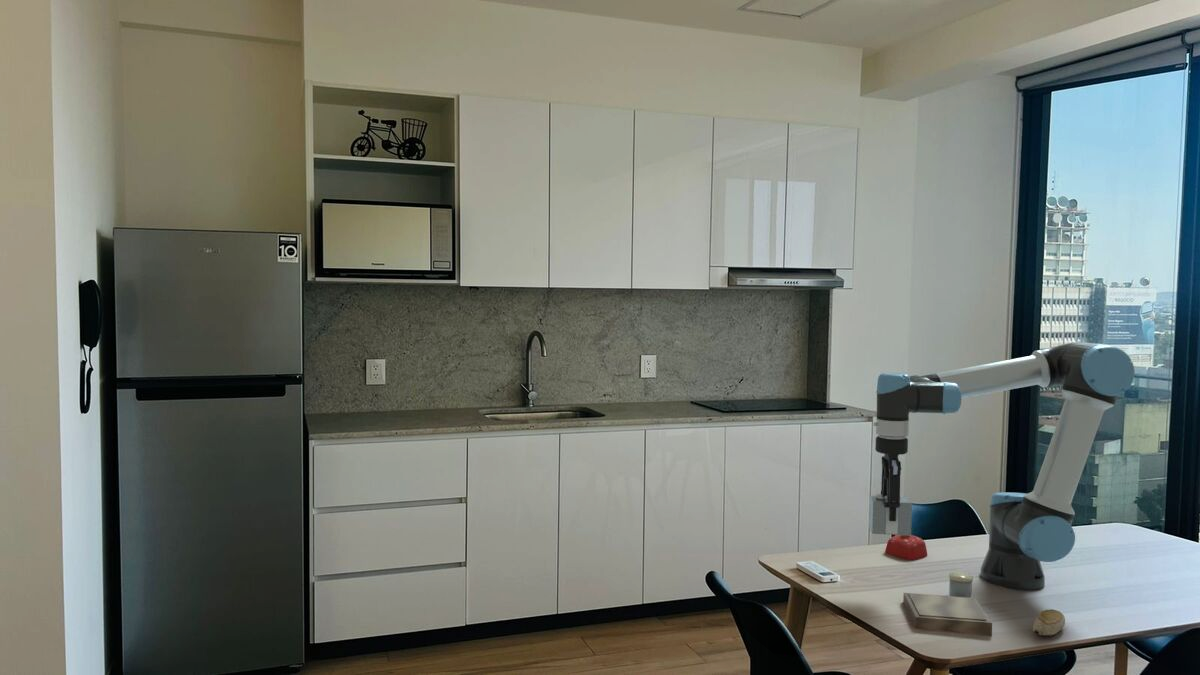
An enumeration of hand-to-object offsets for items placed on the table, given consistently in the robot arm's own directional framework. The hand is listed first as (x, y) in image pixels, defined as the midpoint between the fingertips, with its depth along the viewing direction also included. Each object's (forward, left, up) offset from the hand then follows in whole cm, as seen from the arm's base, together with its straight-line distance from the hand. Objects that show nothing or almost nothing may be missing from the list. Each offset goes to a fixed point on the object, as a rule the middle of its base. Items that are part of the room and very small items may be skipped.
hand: (889, 529), depth 216 cm
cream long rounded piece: (-31, +12, -14) cm, 36 cm away
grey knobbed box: (0, 0, 0) cm, 0 cm away
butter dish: (-10, -33, -17) cm, 38 cm away
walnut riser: (-11, +14, -16) cm, 24 cm away
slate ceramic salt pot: (-17, +1, -17) cm, 24 cm away
